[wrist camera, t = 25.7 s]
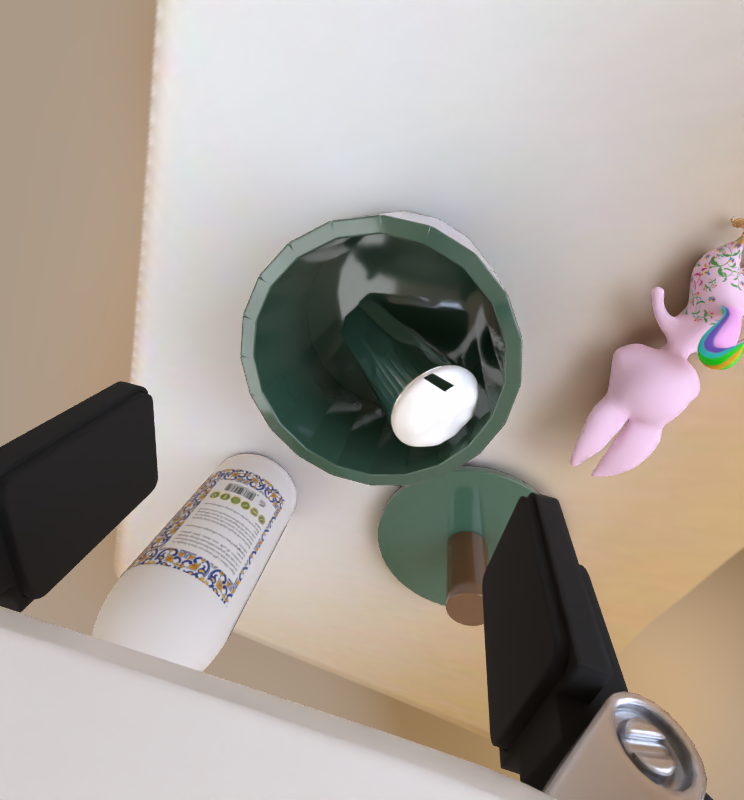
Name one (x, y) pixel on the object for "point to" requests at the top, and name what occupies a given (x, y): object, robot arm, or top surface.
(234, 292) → the top surface
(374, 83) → the top surface
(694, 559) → the top surface
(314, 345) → the pot
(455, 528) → the pot lid
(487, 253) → the top surface
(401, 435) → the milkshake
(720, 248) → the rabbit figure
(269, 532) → the bath foam
